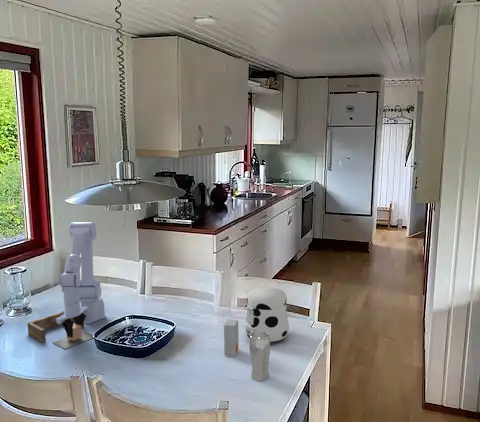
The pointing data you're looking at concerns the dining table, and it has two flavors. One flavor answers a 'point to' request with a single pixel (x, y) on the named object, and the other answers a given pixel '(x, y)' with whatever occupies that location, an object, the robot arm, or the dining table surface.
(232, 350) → the skincare box
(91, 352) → the dining table surface
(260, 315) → the milk container
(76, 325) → the terracotta block
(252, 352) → the beer glass
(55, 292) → the dining table surface
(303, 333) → the dining table surface
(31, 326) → the open box
